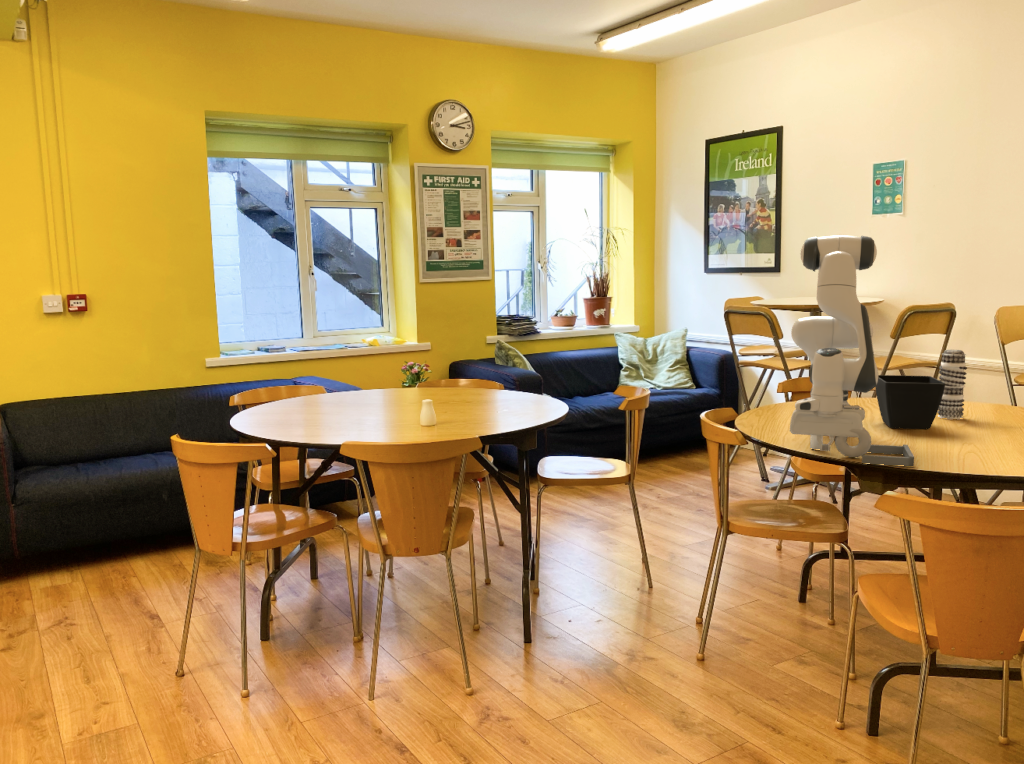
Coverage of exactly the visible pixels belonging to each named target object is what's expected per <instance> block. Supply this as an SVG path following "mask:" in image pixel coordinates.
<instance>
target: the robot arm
mask: <svg viewBox="0 0 1024 764" xmlns="http://www.w3.org/2000/svg"><path fill="white" fill-rule="evenodd" d="M800 249H801V250H800V259H801V262H802V265H803V267H805V269H807V270H810V271H812V272H816V270H818V272H817V282H816V286H817V287H816V301H817V305H818V307H819V309H820V310H821V311H822V312H823V313H824V314H826V315H821V316H820V315H815V316H814V315H812V316H806V317H805V316H804V317H800V318H798V319H796V320H795V322H794V323H793V325H792V328H791V330H790V331H791V338H792V340H793V342H794V344H795V345H796V346H797V347H799V348H800V349H801V350H802V351H803V352H804V353H805V354H806V356H807V358H808V360H809V362H810V367H809V382H810V383H811V385H812V387H811V389H810V397H806V398H803V399H799V400H797V401H796V402H795V404H794V408H795V409H794V410H793V412H792V415H791V419H790V424H789V425H790V426H789V432H790V434H792V435H804V436H805V435H806V436H811V435H817V440H818V442H819V444H820V451H822V452H823V451H825V452H831V446H832V444H833V443H834V442H835V440H834V439H835V436H844V437H848V438H857V439H858V438H859V436H858V435H857V434H856V433H854V432H851V431H849V430H851V429H860V430H863V427H864V426H863V425H864V424H863V420H865V418H866V411H865V409H864V408H863V407H862V406H860V405H857V404H856V405H851V404H850V403H849V402H848V400H849V391H850V392H851V391H852V392H857V393H863V394H864V393H865V394H866V393H868V392H871V391H872V390H873V389H875V387H876V386H877V382H878V375H879V370H878V366H877V362H876V360H875V354H874V346H873V336H874V329H873V326H872V323H871V322H870V318H869V317H870V316H869V312H868V309H867V307H866V305H864V304H862V303H861V302H860V301H859V298H858V296H857V295H858V294H857V270H858V271H863V270H869V269H870V268H871V267H872V266H873V264H874V263H875V261H876V258H877V254H878V250H877V246H876V243H875V240H874V239H873V238H872V237H870V236H865V235H861V236H858V235H857V236H856V235H847V234H839V235H827V236H826V235H825V236H817V235H816V236H812V237H807V239H805V240H804V242H803V244H802V246H801V248H800ZM841 349H842V350H845V349H847V350H848V349H849V350H853V349H858V353H859V355H858V357H856V358H850V357H849V358H845V357H844V355H843V351H842V350H841ZM822 436H823V437H825V436H826V437H828V438H829V439H828V440H829V442H827V443H824V442H823V443H822V441H821V440H820V439H822Z"/></svg>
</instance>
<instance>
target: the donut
mask: <svg viewBox="0 0 1024 764" xmlns="http://www.w3.org/2000/svg"><path fill="white" fill-rule="evenodd" d="M849 431H851V432H854V433H856V434H857V435H858V436H859V438H858V437H857V439H858V443H857V444H856V445H854V446H853V445H852V446H851V445H850V444H848V438H849V437H844V436H835V437H834V446H835V448H836V450H837V451H838V452H839V453H840V454H842V456H844V457H846V456H849V457H848V458H850V457H857V458H860V457H862V455H866V454H868V453H867V452H868V450H869V449H870V446H871V445H872V437H871V435H870V433H869V431H868V430H867V429H866V428H865V427H864V426H863V430H860V429H851V430H849Z"/></svg>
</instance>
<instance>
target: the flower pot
mask: <svg viewBox="0 0 1024 764" xmlns="http://www.w3.org/2000/svg"><path fill="white" fill-rule="evenodd" d="M939 380H940V379H937V378H935V377H933V376H931V375H903V374H902V375H897V374H896V375H894V374H892V375H891V374H890V375H889V374H888V375H887V374H878V382H877V386H876V387H874V389H875V393H876V398H877V404H878V409H879V412H880V416H881V419H882V422H883V423H884V424H885V425H886V426H887V427H889V428H891V429H900V428H903V429H905V430H906V429H907V430H930V429H931V427H932V426H933V423H934V420H935V419H936V417H937V415H938V413H937V412H938V411H939V410H938V409H939V406H940V403H941V400H942V396H943V392H944V388H945V383H944V382H942V381H939Z"/></svg>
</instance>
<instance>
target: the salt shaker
mask: <svg viewBox="0 0 1024 764" xmlns="http://www.w3.org/2000/svg"><path fill="white" fill-rule="evenodd" d="M809 439H810V441H809V444H810V446H809V449H810V448H812V449H820V444H819V442H818V440H817V435H810V438H809ZM820 440H821V441H822V443H823V444H824V436H822V439H820Z"/></svg>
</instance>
